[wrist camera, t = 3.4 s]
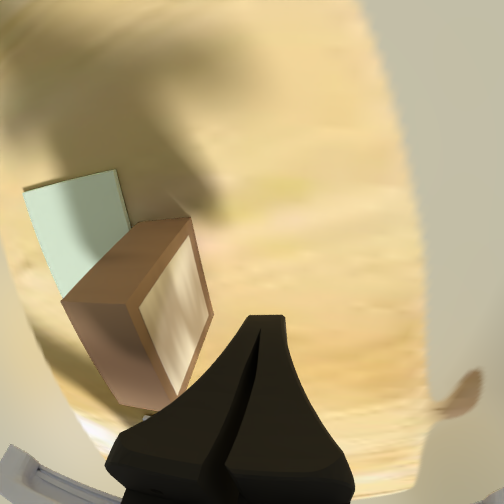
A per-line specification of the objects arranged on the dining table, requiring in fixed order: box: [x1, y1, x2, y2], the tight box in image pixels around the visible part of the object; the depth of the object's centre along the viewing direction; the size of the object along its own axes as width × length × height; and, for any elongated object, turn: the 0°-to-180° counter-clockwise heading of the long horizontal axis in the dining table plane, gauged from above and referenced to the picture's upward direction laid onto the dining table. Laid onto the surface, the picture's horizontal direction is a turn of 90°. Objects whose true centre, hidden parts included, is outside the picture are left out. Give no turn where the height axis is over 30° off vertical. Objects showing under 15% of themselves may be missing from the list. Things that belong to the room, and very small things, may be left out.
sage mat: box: [22, 169, 132, 298], centre depth 18 cm, size 12×8×1 cm, turn 8°
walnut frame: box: [61, 217, 214, 411], centre depth 14 cm, size 6×3×7 cm, turn 8°
